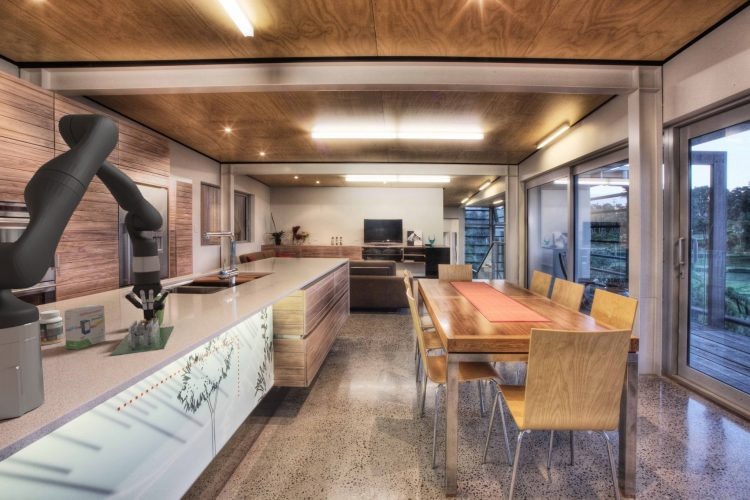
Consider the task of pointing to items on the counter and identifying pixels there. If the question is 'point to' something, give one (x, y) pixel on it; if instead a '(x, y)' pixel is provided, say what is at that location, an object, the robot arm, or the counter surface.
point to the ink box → (84, 326)
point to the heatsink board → (144, 338)
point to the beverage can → (159, 309)
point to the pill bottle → (51, 327)
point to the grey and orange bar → (144, 327)
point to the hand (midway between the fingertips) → (149, 319)
